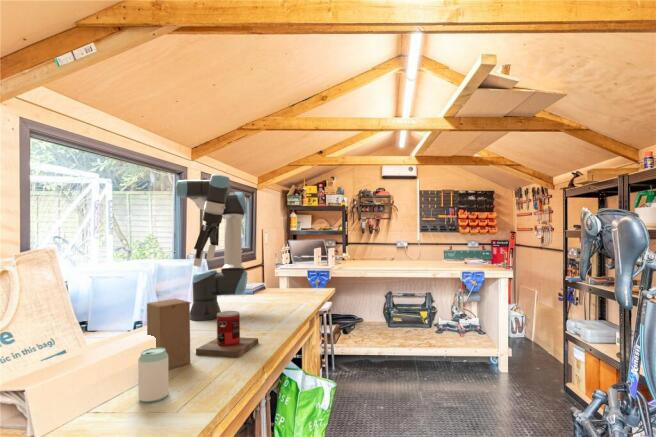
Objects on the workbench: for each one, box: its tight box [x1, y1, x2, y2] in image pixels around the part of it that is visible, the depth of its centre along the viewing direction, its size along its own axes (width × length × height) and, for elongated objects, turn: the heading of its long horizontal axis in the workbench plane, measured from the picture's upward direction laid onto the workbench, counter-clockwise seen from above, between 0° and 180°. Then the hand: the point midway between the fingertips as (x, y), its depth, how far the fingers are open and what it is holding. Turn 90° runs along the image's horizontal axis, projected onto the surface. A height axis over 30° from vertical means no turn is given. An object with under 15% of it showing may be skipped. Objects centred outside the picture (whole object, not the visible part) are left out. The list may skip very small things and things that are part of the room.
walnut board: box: [195, 336, 259, 359], centre depth 135 cm, size 16×16×2 cm
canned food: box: [216, 310, 241, 346], centre depth 135 cm, size 8×8×11 cm
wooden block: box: [146, 298, 191, 370], centre depth 121 cm, size 10×10×20 cm
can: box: [137, 348, 170, 404], centre depth 96 cm, size 7×7×12 cm
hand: (203, 262), depth 153 cm, fingers open, 13 cm apart
